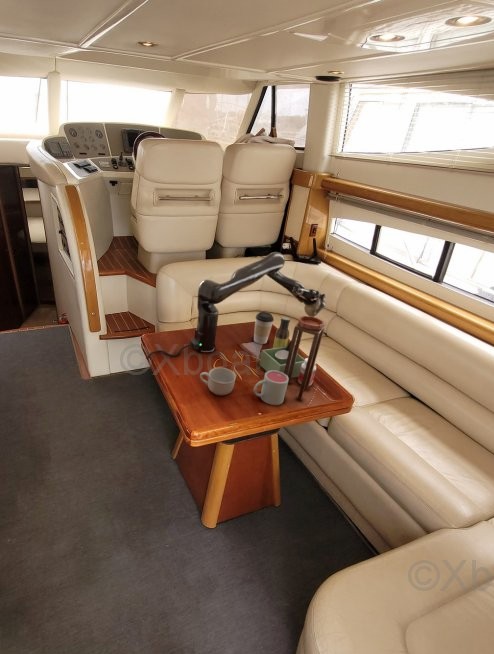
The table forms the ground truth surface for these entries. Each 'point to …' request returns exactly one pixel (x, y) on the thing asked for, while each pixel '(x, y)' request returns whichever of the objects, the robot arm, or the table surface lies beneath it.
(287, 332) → the sauce bottle
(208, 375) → the teacup
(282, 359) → the small saucepan
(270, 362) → the bin
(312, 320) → the stand
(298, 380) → the pill bottle
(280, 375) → the mug
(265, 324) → the coffee cup
